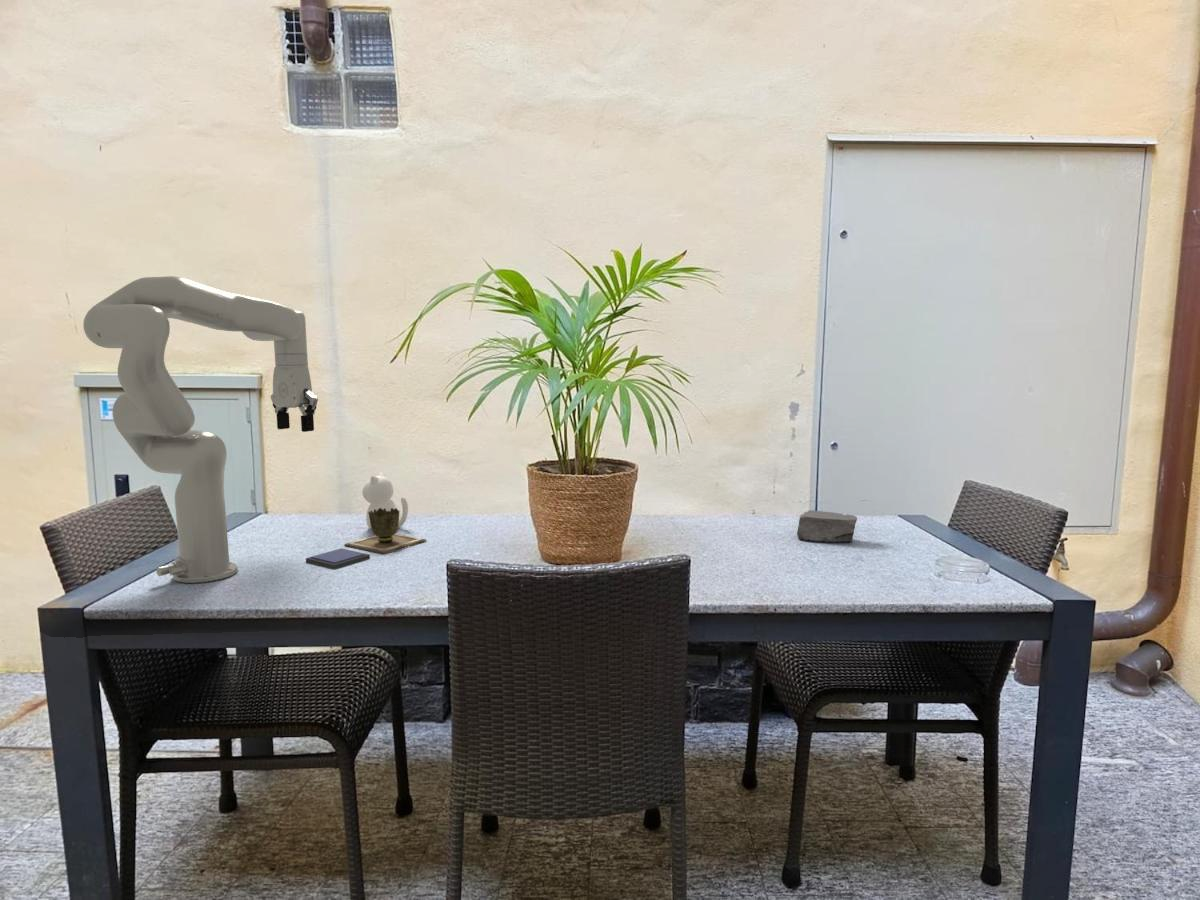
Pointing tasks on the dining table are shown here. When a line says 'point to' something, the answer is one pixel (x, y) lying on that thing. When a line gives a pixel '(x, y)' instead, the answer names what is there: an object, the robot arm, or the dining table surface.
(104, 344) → the robot arm
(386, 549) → the marked board
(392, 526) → the cup
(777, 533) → the dining table surface
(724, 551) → the dining table surface
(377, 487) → the cat figurine
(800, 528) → the decorative stone
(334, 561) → the ink pad
